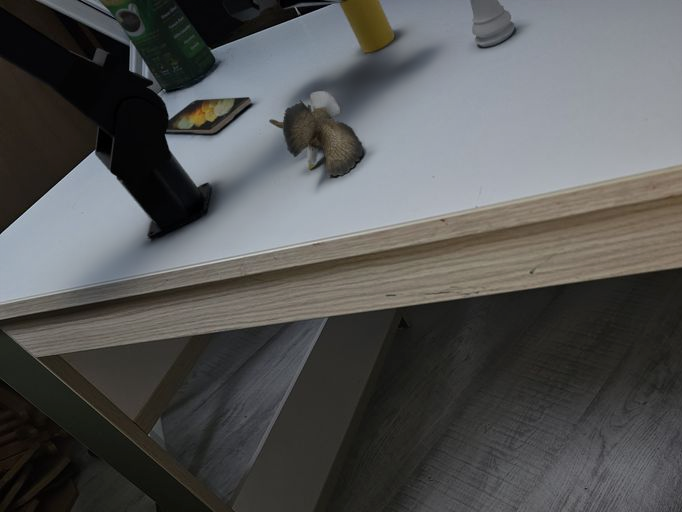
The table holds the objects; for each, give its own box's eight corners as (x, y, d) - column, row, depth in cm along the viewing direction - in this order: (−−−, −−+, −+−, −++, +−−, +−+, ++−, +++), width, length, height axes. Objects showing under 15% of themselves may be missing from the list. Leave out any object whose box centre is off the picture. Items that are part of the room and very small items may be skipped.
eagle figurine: (269, 163, 69) (281, 176, 61) (268, 86, 66) (280, 90, 59) (346, 166, 72) (366, 179, 64) (347, 92, 69) (368, 96, 61)
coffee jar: (226, 59, 109) (148, -66, 97) (197, 86, 104) (111, -42, 92) (186, 70, 114) (107, -47, 102) (157, 96, 109) (70, -24, 97)
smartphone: (194, 99, 97) (251, 96, 87) (197, 104, 98) (254, 101, 88) (156, 129, 94) (210, 129, 84) (159, 133, 95) (214, 134, 85)
